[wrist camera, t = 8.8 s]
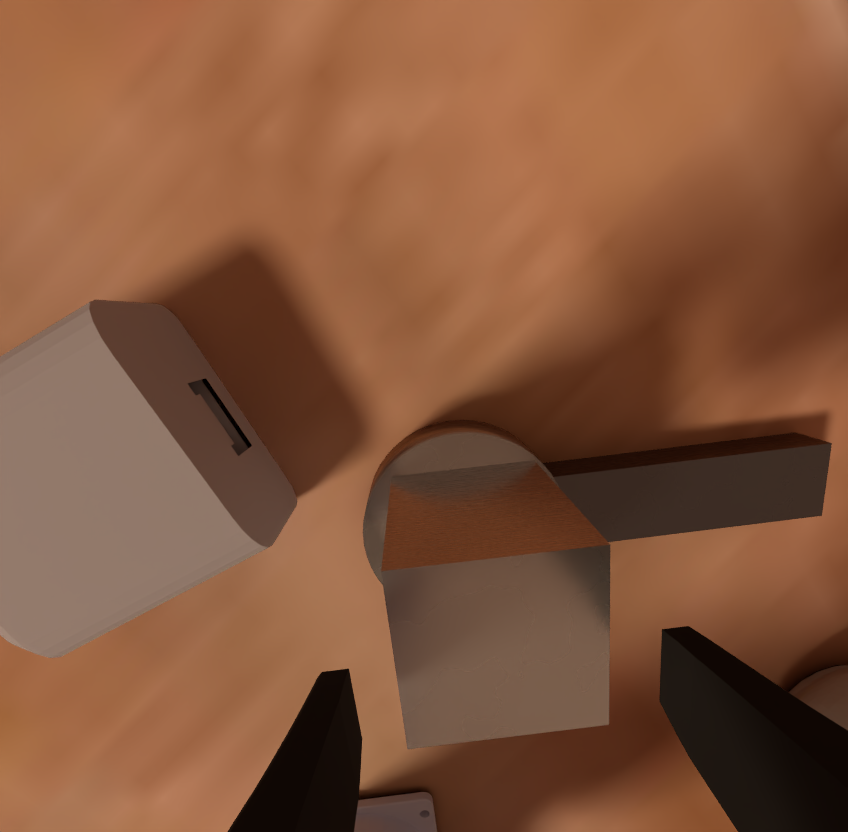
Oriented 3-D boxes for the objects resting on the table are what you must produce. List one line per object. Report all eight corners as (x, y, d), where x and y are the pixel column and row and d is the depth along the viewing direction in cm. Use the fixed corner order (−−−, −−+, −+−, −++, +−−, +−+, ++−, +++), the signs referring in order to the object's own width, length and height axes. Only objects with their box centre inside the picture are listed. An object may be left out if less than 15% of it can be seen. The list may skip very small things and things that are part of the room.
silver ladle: (781, 545, 19) (918, 628, 14) (381, 594, 19) (372, 697, 14) (800, 378, 17) (967, 402, 12) (355, 431, 17) (332, 480, 12)
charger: (-125, 481, 17) (173, 304, 15) (29, 642, 19) (303, 496, 17) (-330, 543, 12) (72, 296, 11) (-95, 747, 14) (265, 558, 13)
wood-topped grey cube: (539, 584, 16) (608, 724, 11) (407, 599, 16) (407, 749, 11) (534, 460, 15) (610, 544, 9) (391, 476, 15) (381, 570, 9)
